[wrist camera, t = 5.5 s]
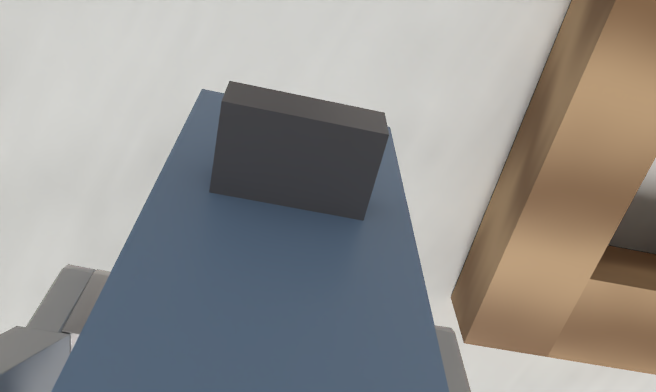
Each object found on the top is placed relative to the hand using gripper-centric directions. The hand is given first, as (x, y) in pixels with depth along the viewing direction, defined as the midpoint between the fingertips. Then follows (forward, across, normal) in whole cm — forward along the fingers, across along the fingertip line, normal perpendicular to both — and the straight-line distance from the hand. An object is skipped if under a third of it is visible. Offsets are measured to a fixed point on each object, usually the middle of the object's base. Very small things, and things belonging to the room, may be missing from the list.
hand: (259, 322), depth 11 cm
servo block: (+3, 0, 0) cm, 3 cm away
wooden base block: (+13, -16, +1) cm, 20 cm away
